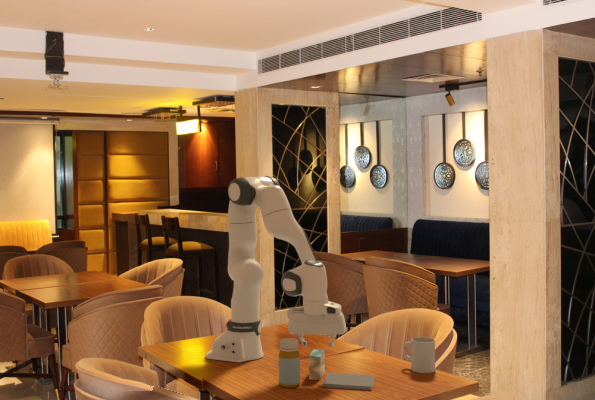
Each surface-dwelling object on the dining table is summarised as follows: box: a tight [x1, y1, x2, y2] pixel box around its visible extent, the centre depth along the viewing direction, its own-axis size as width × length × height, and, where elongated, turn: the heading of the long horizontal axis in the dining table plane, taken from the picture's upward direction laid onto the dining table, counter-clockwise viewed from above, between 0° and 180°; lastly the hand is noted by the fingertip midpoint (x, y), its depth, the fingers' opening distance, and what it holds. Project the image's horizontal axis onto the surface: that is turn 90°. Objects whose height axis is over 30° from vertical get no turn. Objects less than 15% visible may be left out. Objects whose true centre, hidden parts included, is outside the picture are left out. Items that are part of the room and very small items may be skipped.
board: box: [322, 372, 375, 391], centre depth 194 cm, size 16×12×1 cm
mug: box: [402, 336, 436, 374], centre depth 208 cm, size 12×8×11 cm
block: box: [308, 349, 326, 381], centre depth 202 cm, size 4×9×8 cm, turn 168°
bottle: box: [278, 337, 301, 389], centre depth 192 cm, size 7×7×15 cm
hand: (317, 346), depth 202 cm, fingers open, 8 cm apart
